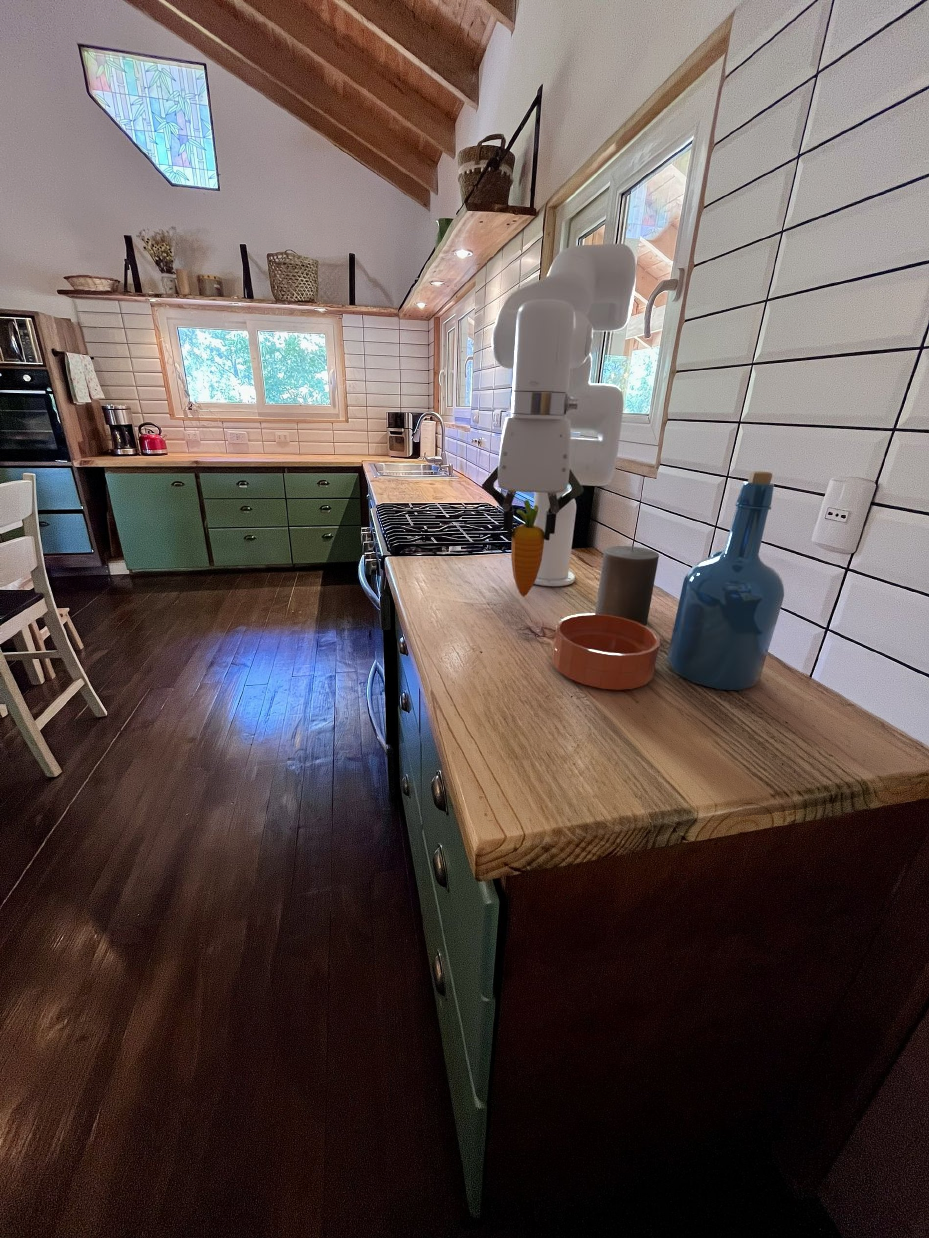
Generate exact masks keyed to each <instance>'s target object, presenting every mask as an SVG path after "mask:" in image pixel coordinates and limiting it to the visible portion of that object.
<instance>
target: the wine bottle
mask: <svg viewBox="0 0 929 1238" xmlns="http://www.w3.org/2000/svg"><path fill="white" fill-rule="evenodd" d="M772 478H773V473H772V472H770V471H761V470H754V471H750V473H749V475H748V479H747V480H745V481H743V483H742V485H741V488H740V491H739V494H738V497H737V498H736V499H737V500H736V502H735V503H734V506H735V510H734V515H733V518H732V522H731V525H730V529H729V532H728V536H727V539H726V543H725V547H724V549H722V550H719V551H716V552H714V553H712V554H711V555H709V556H708V557H707V558H703V559H701V560H700V561H698V562H695V564H694V565H692V566H691V569H689V571H688V573H687V574H686V575H685V577H683V582H682V587H681V592H680V596H679V601H678V606H677V610H676V614H675V619H674V624H673V629H672V632H671V633H672V634H671V639H670V642H669V648H668V652H667V662H668V665H670V667H671V668H672V669H673V671H674V672H675V673H676V674H677V675H679V676H680V677H683V678H684V679H687V680H688V681H690V682H692V683H694V684H697V685H701V686H704V687H709V688H712V689H716V690H725V691H726V690H727V691H742V690H746V689H749V688H751V687H754V686H756V685H757V684H758V683H759V681H760V679H761V675H762V673H763V669H764V665H765V662H766V659H767V655H768V653H769V649H770V645H771V643H772V639H773V635H774V632H775V628H776V626H777V622H778V618H779V615H780V612H781V609H782V605H783V601H784V598H785V584H784V580H783V578H782V576H781V574H779V572H777V571H776V570H775V569H774V568H772V567H771V566H769V565H768V564H766V563H765V562H764V561H762V559H761V557H760V554H759V553H760V550H761V545H762V541H763V536H764V531H765V527H766V523H767V519H768V514H769V510H772V502H773V494H774V489H775V484H774V483H772Z"/></svg>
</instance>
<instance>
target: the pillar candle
mask: <svg viewBox="0 0 929 1238" xmlns="http://www.w3.org/2000/svg"><path fill="white" fill-rule="evenodd" d="M602 555H603V556H602V563H601V570H600V575H599V584H598V590H597V598H596V606H595V613H594V614H605V615H612V616H617V617H622V618H626V619H629V620H633V621H636V622H638V623H641V624H643V625H645V626H647V625H648V621H649V613H650V610H651V602H652V599H653V592H654V586H655V580H656V575H657V569H658V563H659V557H660V554H659V553H658V552H657V551H655V550H653V549H649V548H645V547H641V546H640V547H639V546H636V545H635V546H634V544H632V545H612V546H608V547H605V548H603V554H602ZM647 627H648V626H647Z"/></svg>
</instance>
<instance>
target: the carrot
mask: <svg viewBox="0 0 929 1238" xmlns="http://www.w3.org/2000/svg"><path fill="white" fill-rule="evenodd" d="M523 504H524V508H525V512H526V513H525V512H524V511H523V510H522V509H517V510H516V514H518V515H519V516H520V517H521V518H522V519H523V521H524V524H519V525H518V526H515V527H513V531H512V537H511V546H510V547H511V552H510V553H511V555H510V556H511V557H510V558H511V569H512V575H513V580H514V583H515V586H516V588H517V590H518V592H519V594H520V596H521V597H523V598H524V597H525V596H527V595H528V594H529V592H530V591H531V589H532V588H533V586H534V585H535V584H534V582H535V580H536V578H537V574H538V571H539V568H540V564H541V560H542V554H543V547H544V537H545V534H544V531H543V530H542V529H541V528H540V527H538V526H536V525H534V522H535V520H536V517H537V513H538V506H537V505H534V504H533V508H534V509H533V508H532V506H531V503H530V500H528V499H524V501H523Z"/></svg>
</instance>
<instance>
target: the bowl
mask: <svg viewBox="0 0 929 1238" xmlns="http://www.w3.org/2000/svg"><path fill="white" fill-rule="evenodd" d="M554 627H555V629H554V637H553V646H552V655H551V658H552V665H553V666H554V667H555V669H556V670H557V671H558V672H559V673H560V674H562V675H563V676H565V677H566V678H568V679H570V680H572V681H575V682H577V683H580V684H581V685H586V686H589V687H594V688H598V689H604V690H615V691H621V690H632V689H637V688H640V687H642V686H645V685H647V684H648V683H650V682H651V681H652V680H653V678H654V674H655V669H656V664H657V660H658V655H659V650H660V649H659V648H660V645H661V639H660V637H659V635H658V633H656V632H655V631H654V630H653V629H651V628H650V627H649V626H645V625H643V624H641V623H638V622H636V621H633V620H629V619H626V618H622V617H617V616H612V615H605V614H595V613H578V614H573V615H568V616H566V617H564V618H562V619H560V620H559V621H558V622H557V624H555V626H554Z"/></svg>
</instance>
